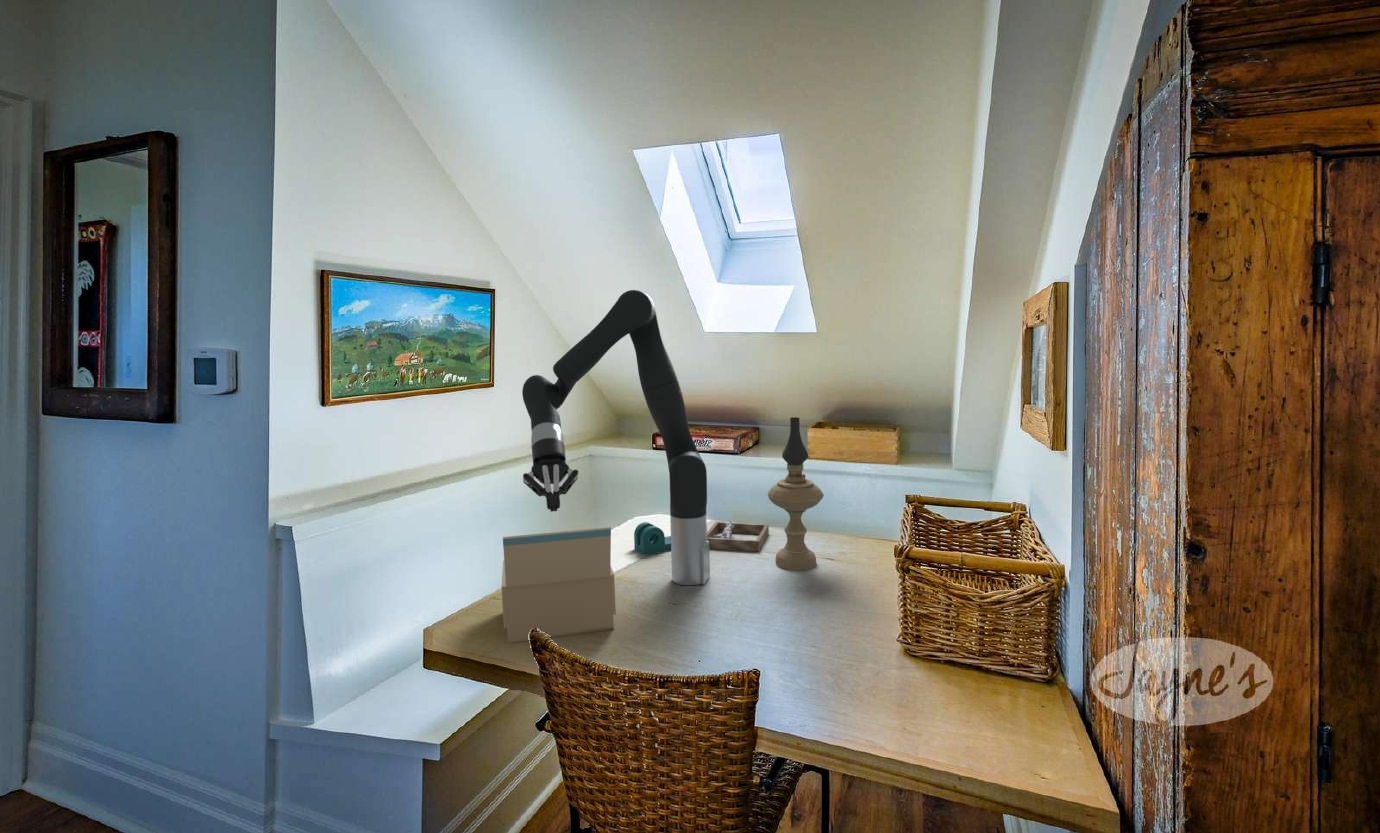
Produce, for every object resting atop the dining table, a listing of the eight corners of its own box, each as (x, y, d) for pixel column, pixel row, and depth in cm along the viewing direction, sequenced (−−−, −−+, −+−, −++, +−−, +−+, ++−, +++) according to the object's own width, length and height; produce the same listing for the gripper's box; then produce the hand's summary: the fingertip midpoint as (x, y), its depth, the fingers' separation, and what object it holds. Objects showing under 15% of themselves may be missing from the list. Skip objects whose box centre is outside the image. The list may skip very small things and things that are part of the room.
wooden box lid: (502, 537, 131) (502, 539, 130) (610, 527, 136) (610, 529, 136) (506, 585, 136) (506, 587, 136) (609, 574, 141) (610, 576, 141)
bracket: (644, 555, 192) (643, 529, 192) (634, 549, 198) (633, 524, 197) (698, 545, 201) (697, 520, 200) (687, 540, 207) (687, 515, 206)
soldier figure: (711, 548, 201) (711, 525, 212) (723, 557, 202) (722, 534, 213) (728, 532, 198) (728, 510, 209) (740, 541, 200) (739, 519, 211)
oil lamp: (789, 576, 172) (788, 422, 168) (757, 560, 186) (755, 417, 181) (835, 566, 179) (835, 418, 175) (801, 551, 192) (800, 413, 188)
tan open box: (506, 609, 156) (503, 559, 154) (605, 597, 161) (603, 549, 160) (504, 643, 138) (501, 587, 136) (616, 629, 143) (614, 575, 142)
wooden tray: (768, 533, 210) (768, 524, 210) (759, 551, 193) (758, 541, 193) (716, 530, 215) (716, 521, 215) (702, 547, 198) (701, 538, 197)
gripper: (518, 438, 153) (522, 503, 143) (576, 435, 156) (585, 497, 146) (519, 457, 159) (523, 521, 148) (575, 453, 162) (583, 515, 152)
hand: (554, 509), depth 147 cm, fingers closed
